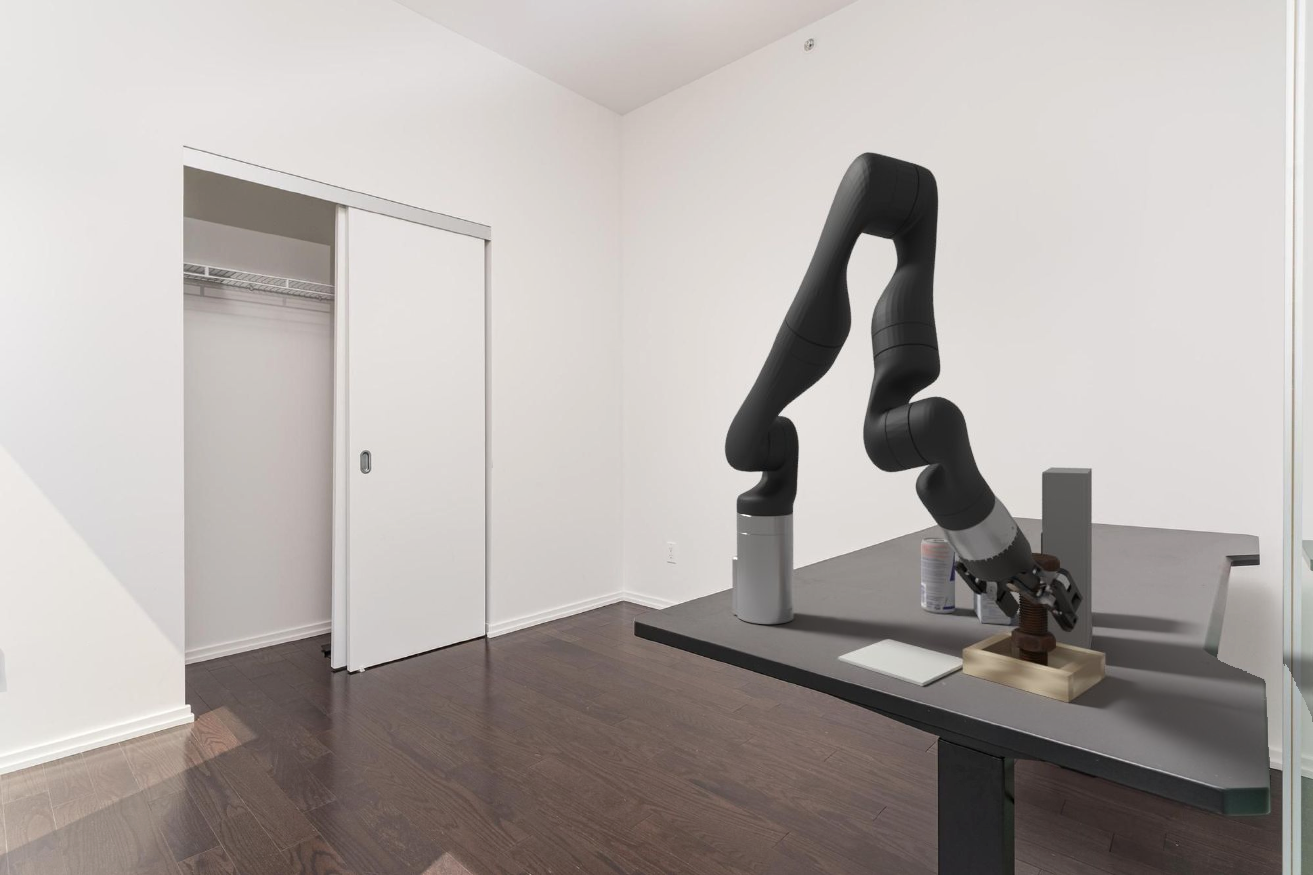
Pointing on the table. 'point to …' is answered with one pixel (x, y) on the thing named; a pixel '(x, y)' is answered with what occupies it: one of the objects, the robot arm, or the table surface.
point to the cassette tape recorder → (1070, 542)
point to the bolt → (1035, 621)
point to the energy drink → (937, 576)
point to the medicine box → (989, 610)
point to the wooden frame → (1035, 667)
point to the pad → (904, 661)
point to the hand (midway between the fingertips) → (1040, 618)
